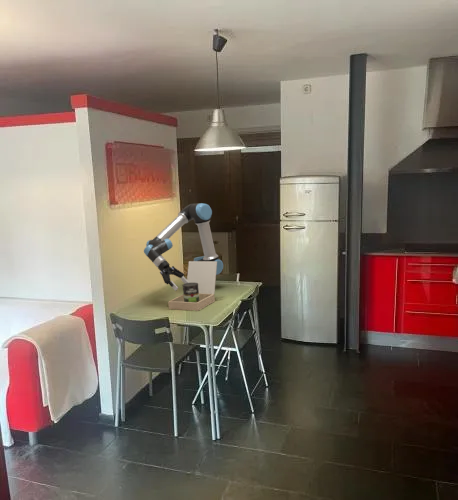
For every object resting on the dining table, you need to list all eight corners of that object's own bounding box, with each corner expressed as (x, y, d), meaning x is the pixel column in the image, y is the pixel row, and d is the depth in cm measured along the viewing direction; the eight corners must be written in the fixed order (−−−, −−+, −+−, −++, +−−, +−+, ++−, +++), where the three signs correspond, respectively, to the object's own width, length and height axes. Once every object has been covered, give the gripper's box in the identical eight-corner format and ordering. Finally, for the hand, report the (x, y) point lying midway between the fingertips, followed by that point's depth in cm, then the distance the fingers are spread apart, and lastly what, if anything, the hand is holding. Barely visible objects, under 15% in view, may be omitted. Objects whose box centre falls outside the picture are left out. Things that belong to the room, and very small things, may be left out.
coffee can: (201, 306, 293) (199, 284, 290) (185, 308, 291) (183, 286, 289) (199, 302, 303) (197, 281, 300) (183, 304, 301) (181, 283, 299)
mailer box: (192, 296, 318) (189, 261, 314) (220, 298, 308) (217, 261, 304) (169, 308, 292) (164, 269, 288) (198, 310, 282) (194, 270, 278)
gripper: (169, 264, 313) (189, 286, 309) (147, 271, 291) (168, 295, 287) (175, 256, 310) (195, 278, 305) (153, 263, 288) (175, 287, 284)
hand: (182, 286), depth 296 cm, fingers open, 13 cm apart
